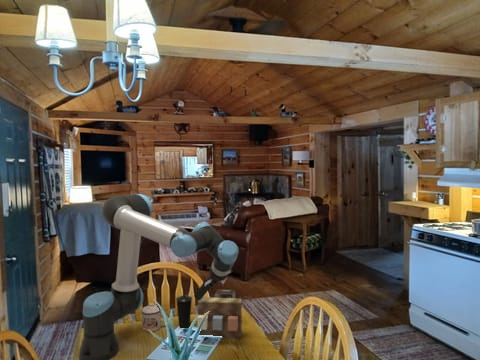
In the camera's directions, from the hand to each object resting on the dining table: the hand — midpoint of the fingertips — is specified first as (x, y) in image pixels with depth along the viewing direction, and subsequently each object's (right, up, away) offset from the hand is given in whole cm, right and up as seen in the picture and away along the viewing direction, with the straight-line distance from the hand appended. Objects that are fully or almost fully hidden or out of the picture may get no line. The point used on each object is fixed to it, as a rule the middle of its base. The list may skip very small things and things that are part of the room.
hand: (210, 290), depth 153 cm
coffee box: (+6, -22, +17) cm, 28 cm away
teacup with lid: (-27, -22, +14) cm, 38 cm away
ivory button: (-3, -16, +2) cm, 16 cm away
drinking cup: (-14, -22, +15) cm, 30 cm away
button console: (+4, -22, +6) cm, 23 cm away
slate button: (+4, -16, +1) cm, 16 cm away
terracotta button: (+10, -16, 0) cm, 19 cm away
